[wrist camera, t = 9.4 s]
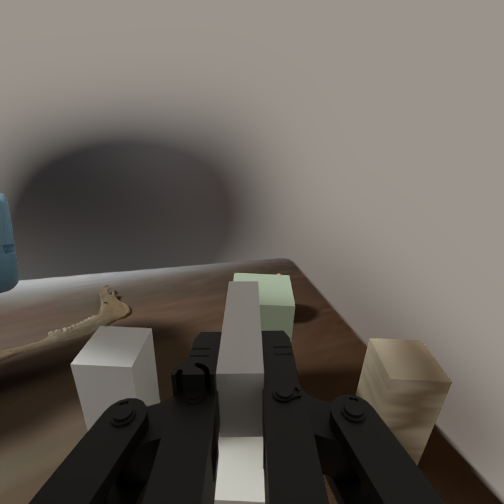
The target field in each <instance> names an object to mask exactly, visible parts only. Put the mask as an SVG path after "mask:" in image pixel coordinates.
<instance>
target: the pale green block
mask: <svg viewBox="0 0 504 504" xmlns="http://www.w3.org/2000/svg"><path fill="white" fill-rule="evenodd" d="M233 281H258V287H259V303H260V319H261V331H278V330H284V332H285V333H286V334H287V335H288V336H289V337H290V341H291V338H292V330H293V321H294V313H295V303H294V297H293V292H292V287H291V282H290V277H289V275H267V274H246V273H235V274H234V280H233Z"/></svg>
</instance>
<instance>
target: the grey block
mask: <svg viewBox="0 0 504 504" xmlns="http://www.w3.org/2000/svg"><path fill="white" fill-rule="evenodd" d="M70 365H71V369H72V373H73V376H74V380H75V384H76V388H77V392H78V396H79V399H80V403H81V407H82V411H83V415H84V418H85V422H86V426H87V430H88V431H89V429H90V428H91V427H92V426H93V425H94V423H95V422H96V421H97V420H98V418H99V417H100V416H101V415H102V414H103V412H104V411H105V410H106V409H107V408H109V407H110V406H111V405H112V404H114V403H116V402H118V401H119V400H123V399H127V398H137V399H140V400H142V401H143V402H144V403H145V405H146V406H150V405H154V404H157V403H160V397H159V389H158V380H157V371H156V362H155V353H154V344H153V336H152V328H135V327H113V326H100V327H99V328H98V329H97V330H96V332H95V333H94V334H93V336H92V337H91V338H90V339H89V341H88V342H87V343H86V345H85V346H84V347H83V349H82V350H81V351H80V352H79V354H78V355H77V356H76V358H75V359H74V360H73V361H72V363H71V364H70Z"/></svg>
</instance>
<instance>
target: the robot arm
mask: <svg viewBox="0 0 504 504" xmlns="http://www.w3.org/2000/svg"><path fill="white" fill-rule="evenodd" d="M18 281H19V271H18V264H17V257H16V251H15V245H14V238H13V230H12V224H11V218H10V212H9V206H8V200H7V198H6V196H5V195H4V194H2V193H0V293H3V292H6V291H9V290H11V289H13V288H14V287H15V286H16V285H17V283H18ZM171 378H172V386H173V394H174V396H173V397H171V398H169V399H168V400H166V401H163V402H161V403H157V404H154V405H150V406H146V405H145V403H144V402H143V401H142V400H140V399H137V398H127V399H123V400H119V401H118V402H116V403H114V404H112V405H111V406H110V407H109V408H107V409H106V410H105V411H104V412H103V414H102V415H101V416H100V417H99V418H98V420H97V421H96V422H95V423H94V425H93V426H92V427H91V428H90V429H89V431H88V432H87V433H86V434H85V435H84V437H83V438H82V439H81V440H80V442H79V443H78V444H77V445H76V446H75V448H74V449H73V450H72V451H71V453H70V454H69V455H68V456H67V457H66V459H65V460H64V461H63V462H62V464H61V465H60V466H59V467H58V468H57V470H56V471H55V472H54V473H53V474H52V476H51V477H50V478H49V479H48V481H47V482H46V483H45V484H44V485H43V487H42V488H41V489H40V490H39V492H38V493H37V494H36V495H35V496H34V498H33V499H32V500H31V501H30V502H29V504H214V501H215V490H216V480H217V469H218V458H219V447H218V440H219V433H220V437H263V469H264V488H265V504H329V502H328V497H327V492H326V488H325V483H324V479H323V474H324V475H325V476H326V479H327V481H328V483H329V486H330V488H331V490H332V492H333V494H334V496H335V499H336V501H337V503H338V504H446V503H445V501H444V500H443V499H442V497H441V496H440V495H439V493H438V492H437V491H436V489H435V488H434V487H433V485H432V484H431V483H430V482H429V480H428V479H427V478H426V476H425V475H424V474H423V472H422V471H421V470H420V468H419V467H418V466H417V464H416V463H415V462H414V460H413V459H412V458H411V457H410V455H409V454H408V453H407V451H406V450H405V449H404V447H403V446H402V445H401V443H400V442H399V441H398V439H397V438H396V437H395V435H394V434H393V433H392V431H391V430H390V429H389V428H388V426H387V425H386V424H385V422H384V421H383V420H382V418H381V417H380V416H379V414H378V413H377V412H376V410H375V409H374V408H373V407H372V406H371V405H370V404H369V403H368V402H367V401H366V400H364V399H362V398H360V397H359V396H355V395H351V394H345V395H340V396H338V397H335V399H334V400H333V401H332V402H331V403H330V402H326V401H322V400H319V399H316V398H314V397H312V396H310V395H308V394H307V393H306V392H305V391H304V390H303V388H302V387H301V386H300V383H299V379H298V375H297V370H296V365H295V360H294V355H293V350H292V346H291V341H290V337H289V336H288V335H287V334H286V333H285V332H284V330H278V331H261V319H260V303H259V287H258V281H233V282H229V286H228V293H227V300H226V307H225V314H224V321H223V328H222V332H201V333H200V334H199V335H198V336H197V337H196V339H195V340H194V343H193V347H192V350H191V354H190V358H189V361H187V362H185V363H182V364H180V365H179V366H178V367H176V368H175V369H174V371H173V372H172V374H171Z"/></svg>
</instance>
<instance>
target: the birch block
mask: <svg viewBox="0 0 504 504" xmlns="http://www.w3.org/2000/svg"><path fill="white" fill-rule="evenodd" d="M451 383H452V381H451V380H450V378H449V377H448V376H447V374H446V373H445V372H444V370H443V369H442V368H441V366H440V365H439V364H438V362H437V361H436V359H435V358H434V357H433V355H432V354H431V353H430V351H429V350H428V349H427V347H426V346H425V345H424V343H423V342H422V341H418V340H417V341H416V340H397V339H396V340H395V339H376V338H375V339H374V338H370V340H369V343H368V347H367V351H366V355H365V359H364V364H363V368H362V372H361V376H360V380H359V384H358V388H357V392H356V396H359V397H360V398H362V399H364V400H366V401H367V402H368V403H369V404H370V405H371V406H372V407H373V408H374V409H375V410H376V412H377V413H378V414H379V416H380V417H381V418H382V420H383V421H384V422H385V424H386V425H387V426H388V428H389V429H390V430H391V431H392V433H393V434H394V435H395V437H396V438H397V439H398V441H399V442H400V443H401V445H402V446H403V447H404V449H405V450H406V451H407V453H408V454H409V455H410V457H411V458H412V459H413V460H414V462H415V463H416V464H417V465H418V463H419V461H420V458H421V456H422V453H423V451H424V449H425V446H426V444H427V441H428V439H429V436H430V434H431V432H432V429H433V427H434V424H435V422H436V420H437V417H438V415H439V412H440V410H441V407H442V405H443V403H444V400H445V398H446V395H447V393H448V390H449V388H450V386H451Z"/></svg>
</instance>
